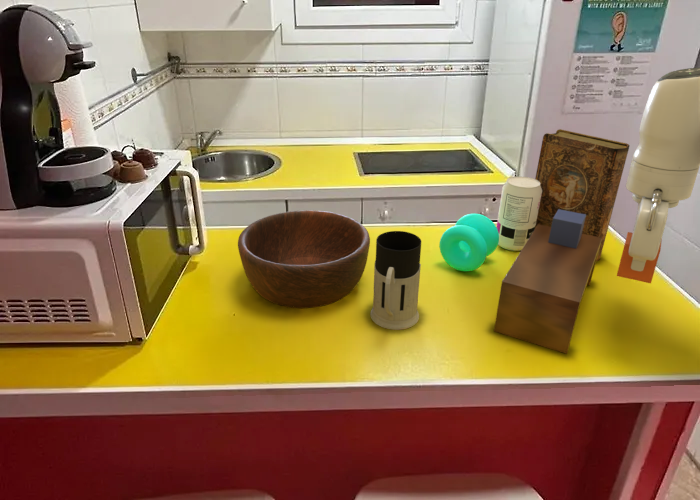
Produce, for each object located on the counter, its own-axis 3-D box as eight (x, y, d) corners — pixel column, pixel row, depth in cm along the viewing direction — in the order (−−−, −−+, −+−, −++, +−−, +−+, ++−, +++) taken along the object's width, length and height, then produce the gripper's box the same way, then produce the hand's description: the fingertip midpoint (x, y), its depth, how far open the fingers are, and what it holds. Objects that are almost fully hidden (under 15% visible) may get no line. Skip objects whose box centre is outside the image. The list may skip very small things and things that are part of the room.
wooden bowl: (253, 329, 89) (248, 277, 84) (234, 262, 110) (229, 218, 105) (388, 303, 96) (390, 255, 92) (345, 245, 117) (345, 203, 113)
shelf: (590, 282, 104) (602, 237, 99) (566, 354, 84) (579, 302, 79) (529, 267, 109) (537, 224, 104) (493, 331, 89) (501, 281, 85)
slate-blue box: (580, 238, 99) (586, 214, 96) (576, 248, 95) (582, 224, 93) (553, 232, 101) (558, 208, 99) (548, 242, 97) (553, 218, 95)
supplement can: (487, 239, 121) (496, 178, 114) (516, 233, 124) (526, 173, 117) (509, 254, 114) (519, 190, 107) (539, 248, 117) (551, 185, 110)
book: (604, 256, 113) (633, 144, 102) (591, 264, 110) (621, 150, 99) (537, 231, 124) (556, 128, 113) (524, 238, 121) (543, 132, 110)
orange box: (652, 270, 87) (661, 238, 84) (650, 283, 83) (660, 250, 80) (619, 263, 89) (627, 231, 86) (616, 276, 85) (624, 243, 83)
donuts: (435, 265, 109) (439, 222, 105) (454, 247, 117) (459, 206, 112) (480, 279, 104) (486, 235, 100) (497, 259, 112) (504, 217, 107)
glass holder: (422, 305, 96) (428, 232, 89) (411, 352, 84) (417, 272, 77) (375, 298, 98) (378, 226, 91) (358, 344, 86) (359, 265, 79)
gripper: (683, 206, 69) (656, 294, 76) (684, 165, 85) (662, 241, 91) (631, 198, 72) (609, 284, 78) (641, 159, 88) (623, 233, 94)
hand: (638, 260), depth 85 cm, fingers closed on orange box, 5 cm apart
